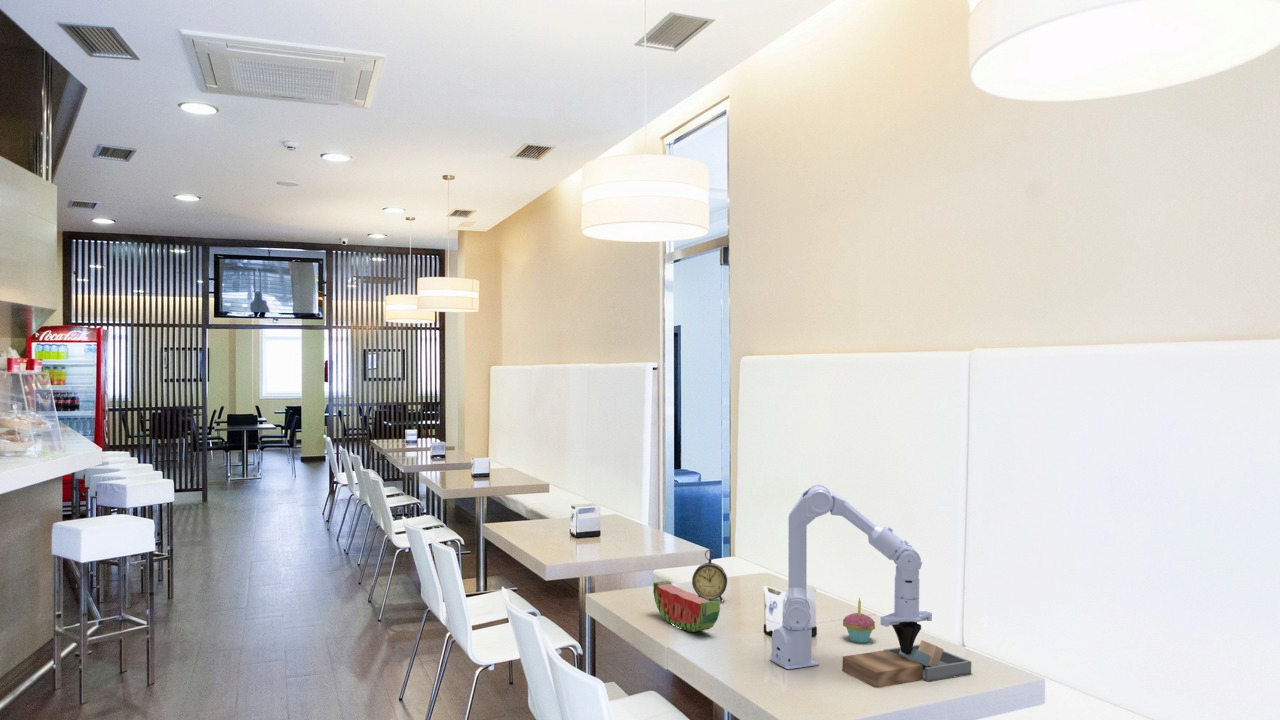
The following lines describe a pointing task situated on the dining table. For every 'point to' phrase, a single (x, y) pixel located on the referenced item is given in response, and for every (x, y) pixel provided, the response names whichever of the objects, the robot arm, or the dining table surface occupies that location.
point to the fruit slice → (685, 607)
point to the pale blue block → (917, 656)
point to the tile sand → (931, 652)
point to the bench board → (882, 668)
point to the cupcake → (859, 626)
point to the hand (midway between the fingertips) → (906, 652)
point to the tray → (943, 666)
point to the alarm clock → (709, 580)
